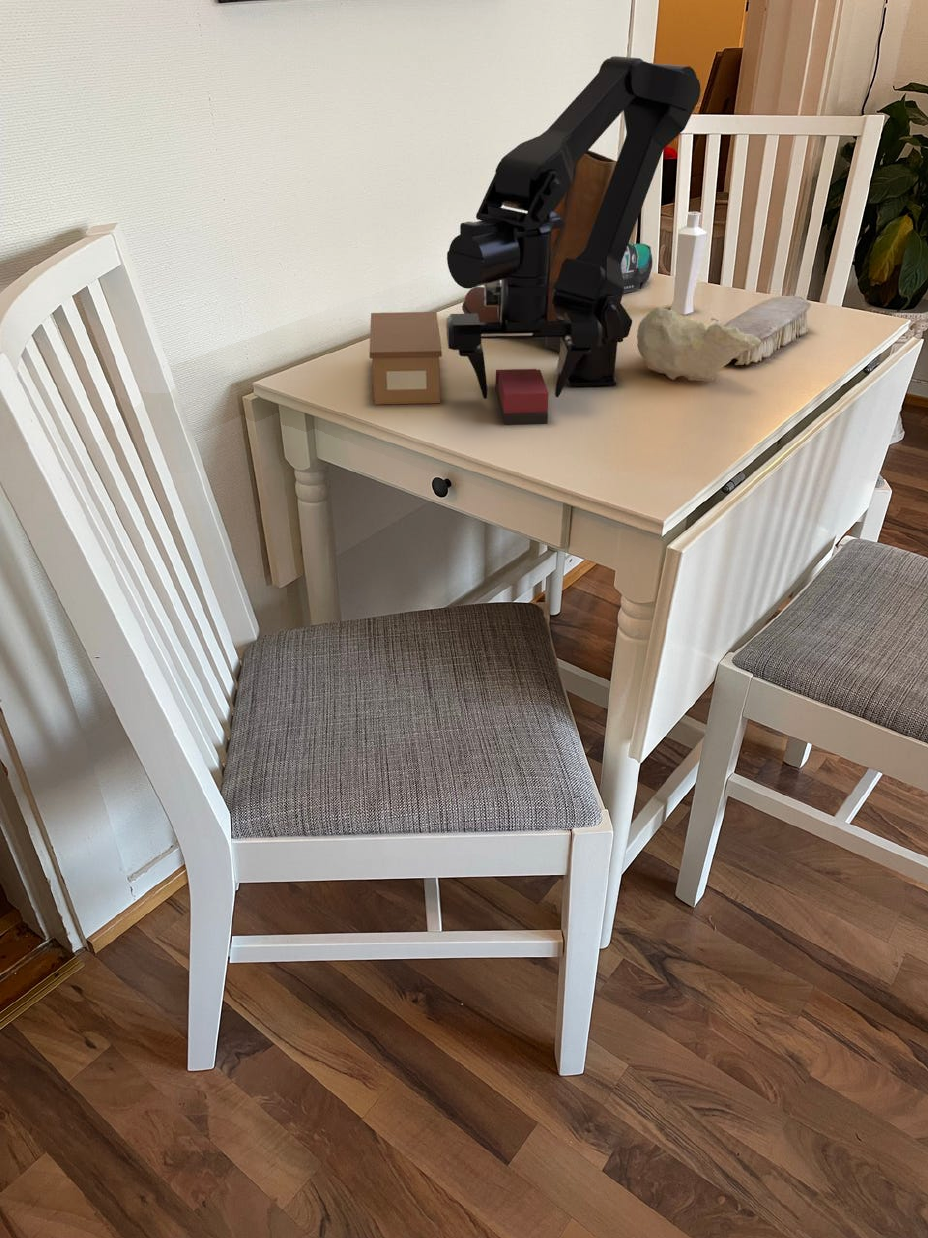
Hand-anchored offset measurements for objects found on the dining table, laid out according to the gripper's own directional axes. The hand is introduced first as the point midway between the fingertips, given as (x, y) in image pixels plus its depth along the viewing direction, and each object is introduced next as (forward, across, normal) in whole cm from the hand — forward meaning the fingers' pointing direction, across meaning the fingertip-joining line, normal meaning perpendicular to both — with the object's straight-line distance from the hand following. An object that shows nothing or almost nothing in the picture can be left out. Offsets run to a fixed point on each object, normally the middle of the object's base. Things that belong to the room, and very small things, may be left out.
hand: (520, 396), depth 123 cm
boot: (+1, -4, -27) cm, 27 cm away
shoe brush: (+1, -38, -21) cm, 44 cm away
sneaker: (+1, -20, -51) cm, 55 cm away
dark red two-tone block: (+1, 0, 0) cm, 1 cm away
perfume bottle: (+1, -30, -38) cm, 49 cm away
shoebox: (+1, +14, -9) cm, 17 cm away
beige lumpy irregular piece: (+1, -26, -9) cm, 27 cm away
